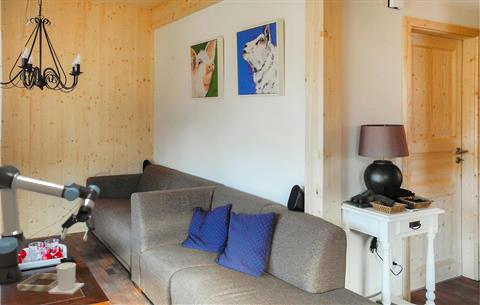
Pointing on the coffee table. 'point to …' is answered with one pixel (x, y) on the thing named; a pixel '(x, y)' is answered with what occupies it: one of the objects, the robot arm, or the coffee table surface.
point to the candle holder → (66, 275)
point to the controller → (68, 260)
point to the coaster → (70, 291)
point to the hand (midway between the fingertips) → (73, 239)
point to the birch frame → (43, 288)
